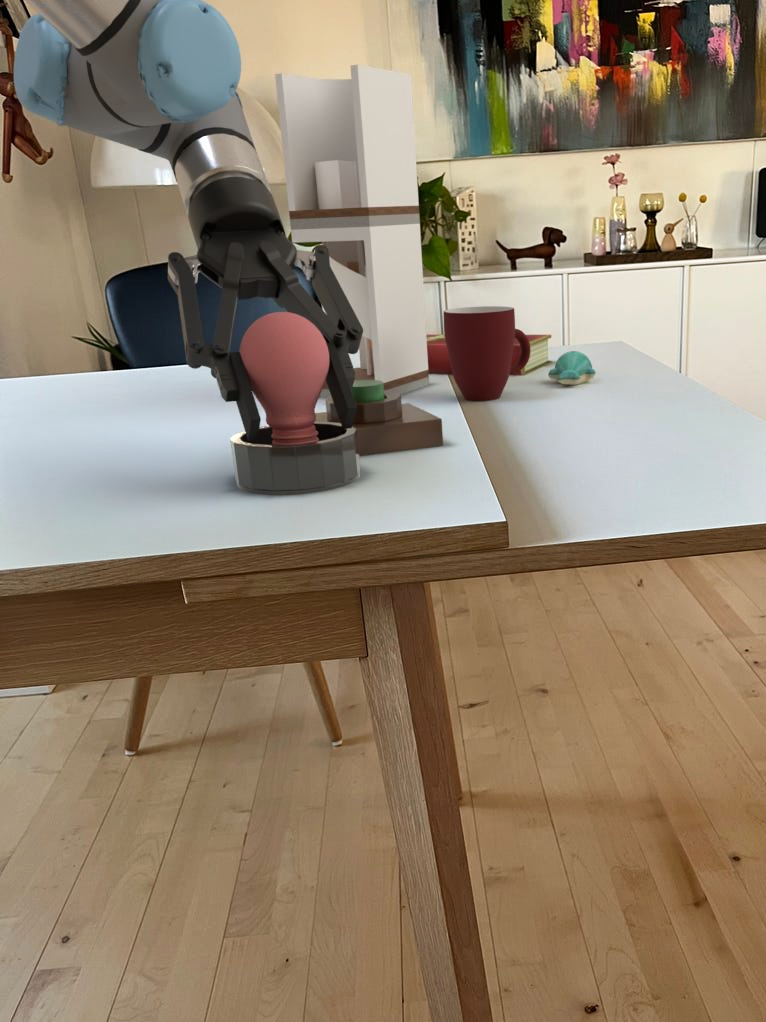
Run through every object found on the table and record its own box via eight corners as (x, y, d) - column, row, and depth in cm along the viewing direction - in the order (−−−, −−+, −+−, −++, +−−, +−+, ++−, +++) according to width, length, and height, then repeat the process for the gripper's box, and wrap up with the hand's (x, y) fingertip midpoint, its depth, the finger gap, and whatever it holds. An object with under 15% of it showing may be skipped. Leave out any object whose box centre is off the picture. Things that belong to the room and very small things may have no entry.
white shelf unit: (358, 383, 137) (332, 82, 123) (429, 386, 132) (411, 74, 119) (308, 398, 127) (275, 74, 114) (382, 401, 123) (357, 64, 109)
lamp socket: (248, 503, 82) (242, 452, 80) (228, 476, 90) (222, 430, 89) (374, 486, 85) (370, 437, 83) (343, 462, 94) (338, 417, 92)
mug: (504, 388, 128) (501, 303, 124) (547, 395, 122) (546, 306, 118) (434, 400, 122) (429, 311, 118) (476, 408, 116) (472, 314, 112)
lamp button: (348, 407, 96) (346, 388, 95) (337, 401, 100) (336, 382, 99) (390, 403, 97) (388, 383, 97) (378, 396, 101) (376, 378, 100)
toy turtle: (599, 379, 131) (599, 348, 130) (591, 389, 125) (591, 356, 123) (553, 380, 132) (552, 349, 131) (543, 389, 126) (542, 357, 124)
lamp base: (317, 462, 94) (312, 412, 92) (294, 443, 102) (289, 396, 101) (443, 447, 98) (440, 398, 96) (410, 429, 106) (407, 384, 105)
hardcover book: (523, 376, 136) (523, 343, 134) (379, 374, 143) (377, 342, 142) (551, 363, 146) (551, 332, 145) (415, 362, 154) (413, 332, 152)
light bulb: (252, 456, 90) (235, 310, 85) (336, 450, 91) (323, 306, 86) (251, 475, 83) (232, 318, 79) (340, 468, 84) (327, 313, 80)
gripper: (334, 234, 97) (410, 436, 90) (111, 245, 89) (173, 467, 82) (347, 169, 91) (430, 381, 83) (108, 174, 83) (176, 409, 75)
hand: (303, 423), depth 83 cm, fingers closed on light bulb, 7 cm apart
